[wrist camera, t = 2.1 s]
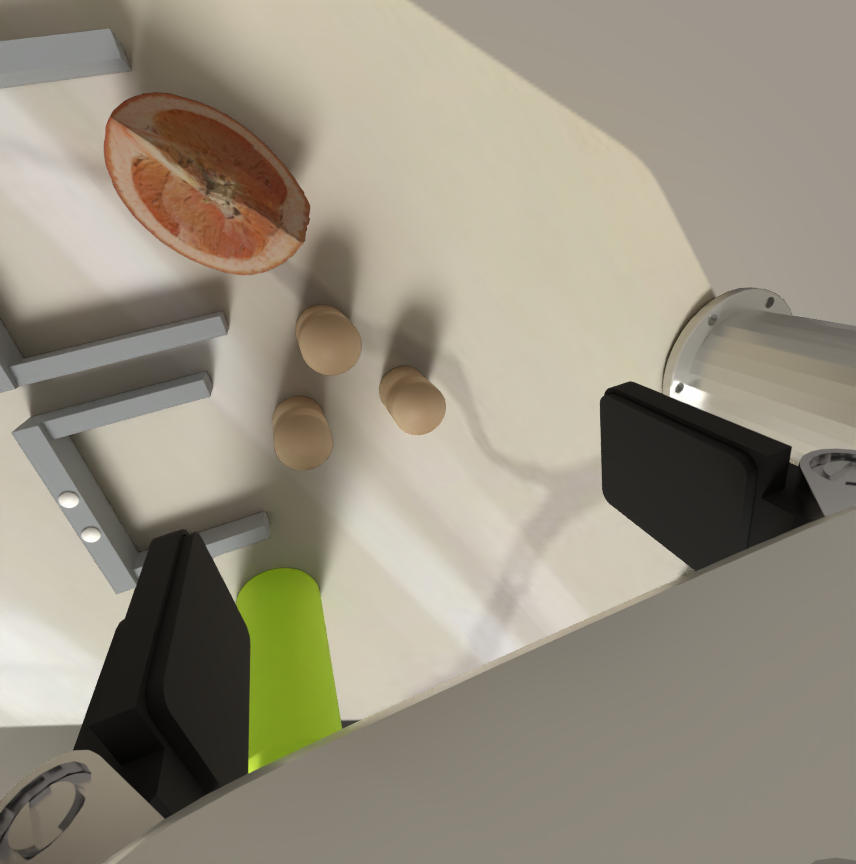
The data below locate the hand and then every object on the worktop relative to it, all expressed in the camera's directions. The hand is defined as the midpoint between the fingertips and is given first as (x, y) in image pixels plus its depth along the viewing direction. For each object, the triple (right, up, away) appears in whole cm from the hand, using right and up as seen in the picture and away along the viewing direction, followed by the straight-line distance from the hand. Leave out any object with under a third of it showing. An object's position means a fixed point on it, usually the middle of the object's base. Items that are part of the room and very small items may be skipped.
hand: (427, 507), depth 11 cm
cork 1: (-6, +8, +18) cm, 21 cm away
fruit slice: (-11, +14, +14) cm, 22 cm away
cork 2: (-8, +2, +20) cm, 21 cm away
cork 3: (-2, +5, +21) cm, 21 cm away
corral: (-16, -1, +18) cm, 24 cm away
